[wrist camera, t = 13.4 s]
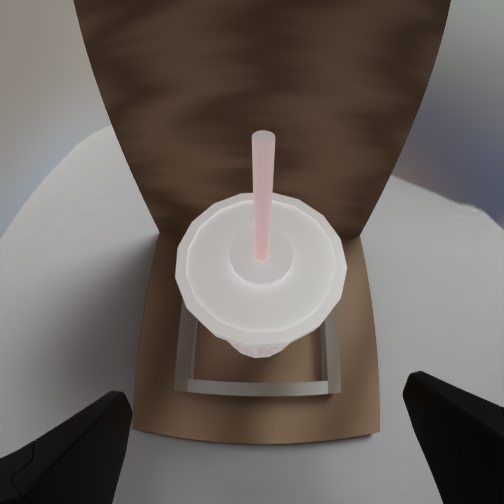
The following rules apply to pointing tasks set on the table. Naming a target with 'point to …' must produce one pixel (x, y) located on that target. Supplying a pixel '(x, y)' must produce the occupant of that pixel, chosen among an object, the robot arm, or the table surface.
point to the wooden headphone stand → (241, 181)
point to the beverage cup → (260, 264)
